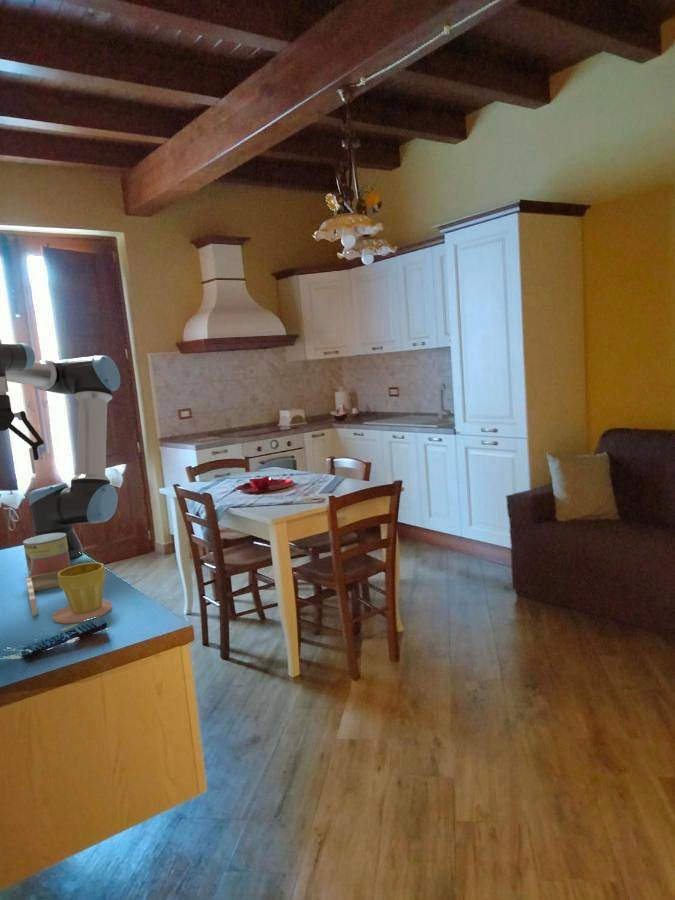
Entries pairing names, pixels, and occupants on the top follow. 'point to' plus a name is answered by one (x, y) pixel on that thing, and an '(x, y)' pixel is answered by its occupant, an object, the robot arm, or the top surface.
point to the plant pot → (83, 586)
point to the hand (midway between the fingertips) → (5, 477)
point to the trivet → (69, 617)
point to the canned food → (46, 553)
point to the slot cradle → (40, 586)
